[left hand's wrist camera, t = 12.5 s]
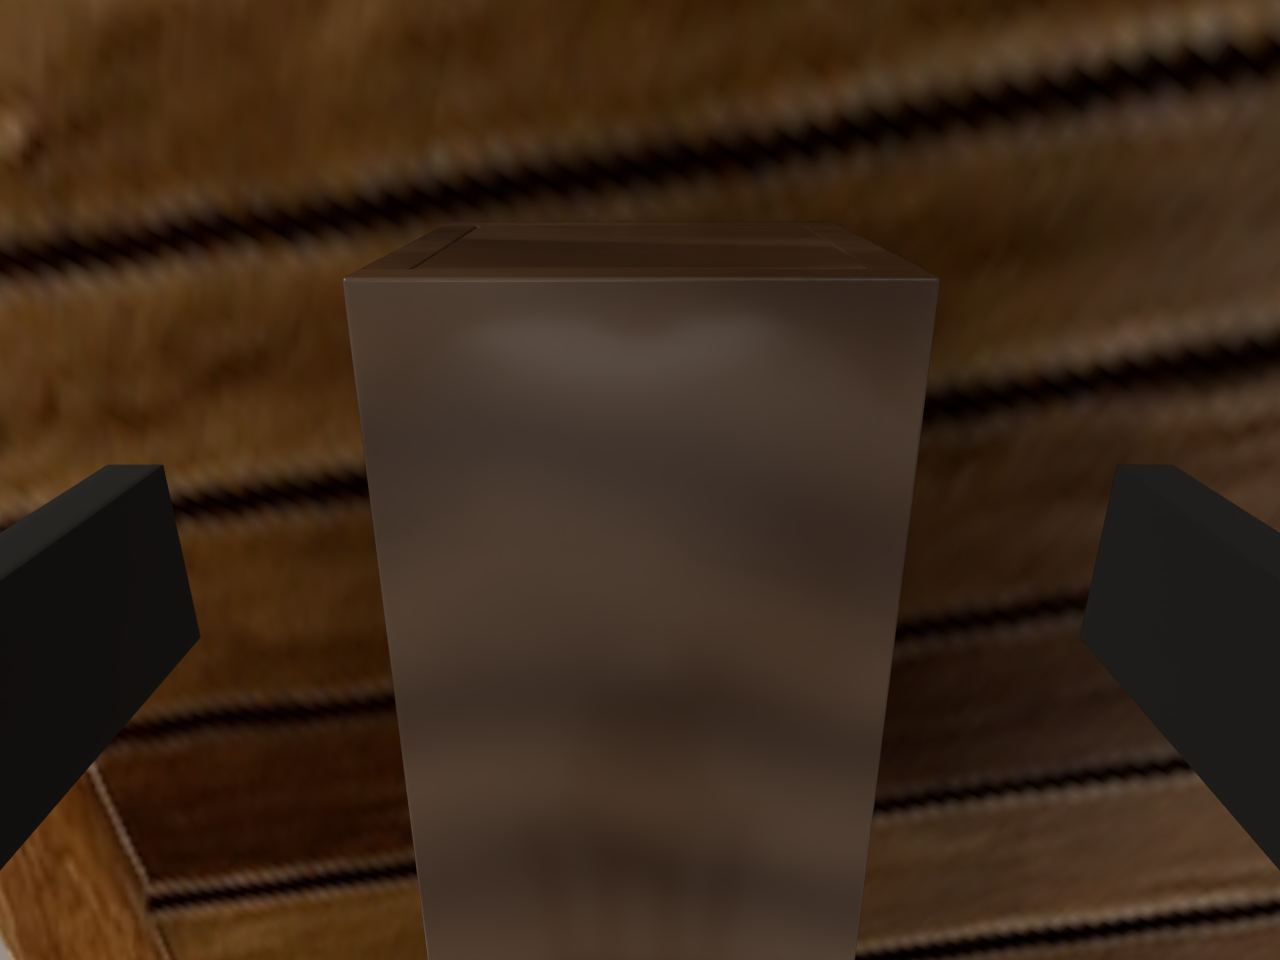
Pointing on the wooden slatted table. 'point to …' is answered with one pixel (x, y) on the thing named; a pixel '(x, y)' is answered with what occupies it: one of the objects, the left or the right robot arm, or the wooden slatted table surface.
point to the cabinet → (641, 574)
